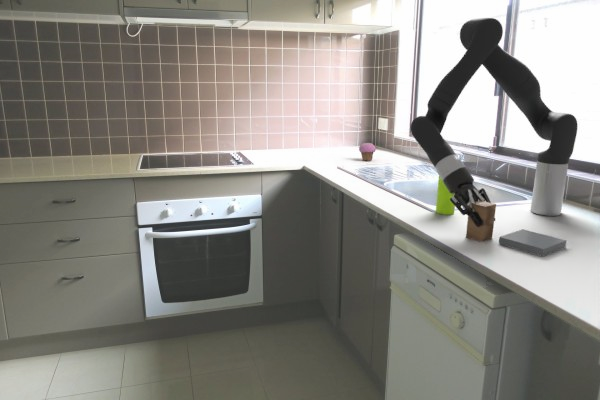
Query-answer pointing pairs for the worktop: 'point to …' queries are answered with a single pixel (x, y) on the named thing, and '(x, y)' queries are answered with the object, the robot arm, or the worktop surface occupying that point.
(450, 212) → the soap dispenser
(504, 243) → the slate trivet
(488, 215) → the walnut block
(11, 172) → the worktop surface
